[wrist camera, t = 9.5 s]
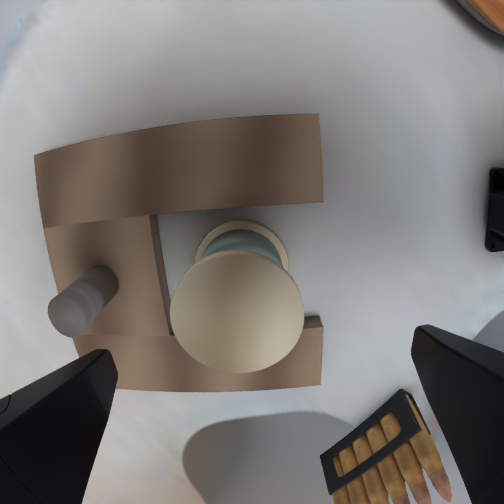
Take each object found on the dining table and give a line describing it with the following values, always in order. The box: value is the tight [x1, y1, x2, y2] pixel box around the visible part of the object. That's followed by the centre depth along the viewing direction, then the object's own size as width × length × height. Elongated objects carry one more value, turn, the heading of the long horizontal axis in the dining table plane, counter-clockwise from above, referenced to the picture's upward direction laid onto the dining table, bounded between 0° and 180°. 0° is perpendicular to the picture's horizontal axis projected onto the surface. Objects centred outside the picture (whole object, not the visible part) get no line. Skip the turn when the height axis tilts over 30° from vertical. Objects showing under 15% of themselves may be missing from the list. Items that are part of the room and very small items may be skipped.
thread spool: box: [170, 220, 304, 373], centre depth 17 cm, size 6×6×7 cm
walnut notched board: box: [34, 114, 323, 392], centre depth 17 cm, size 18×18×6 cm
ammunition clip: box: [320, 389, 452, 504], centre depth 19 cm, size 11×2×12 cm, turn 144°
